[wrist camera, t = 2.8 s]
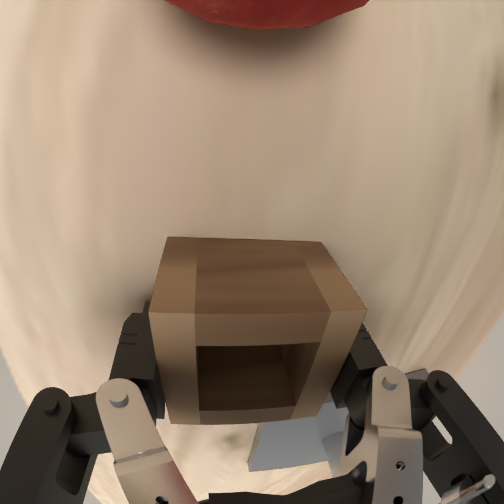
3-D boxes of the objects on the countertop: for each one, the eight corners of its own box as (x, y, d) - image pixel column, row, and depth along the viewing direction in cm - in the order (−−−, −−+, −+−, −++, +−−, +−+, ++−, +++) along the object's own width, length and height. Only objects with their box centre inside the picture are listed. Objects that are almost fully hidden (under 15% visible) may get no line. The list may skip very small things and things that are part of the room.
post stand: (266, 395, 15) (290, 506, 9) (425, 368, 17) (467, 441, 11) (247, 462, 21) (258, 529, 15) (366, 442, 23) (387, 497, 17)
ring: (167, 237, 10) (148, 312, 6) (320, 242, 11) (367, 309, 7) (175, 348, 13) (170, 423, 9) (294, 346, 13) (316, 415, 10)
